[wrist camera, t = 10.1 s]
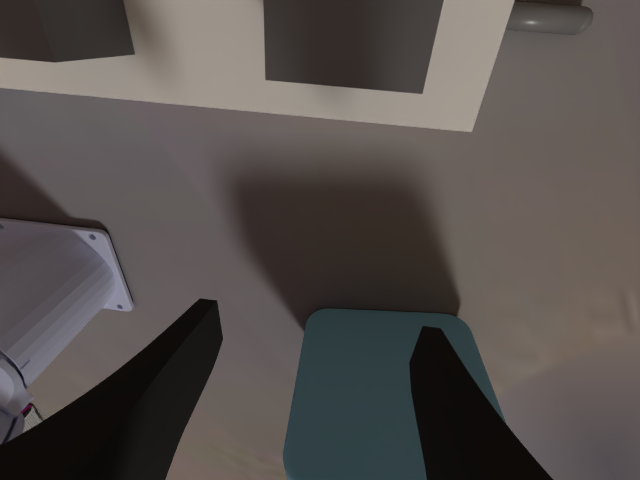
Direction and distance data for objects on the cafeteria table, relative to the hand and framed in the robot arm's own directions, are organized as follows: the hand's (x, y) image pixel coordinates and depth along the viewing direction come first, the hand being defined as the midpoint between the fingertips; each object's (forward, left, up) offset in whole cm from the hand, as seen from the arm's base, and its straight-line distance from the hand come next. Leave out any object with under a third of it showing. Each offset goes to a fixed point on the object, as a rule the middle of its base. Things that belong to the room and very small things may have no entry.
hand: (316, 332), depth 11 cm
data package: (+5, -11, -11) cm, 16 cm away
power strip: (-4, +10, -10) cm, 15 cm away
